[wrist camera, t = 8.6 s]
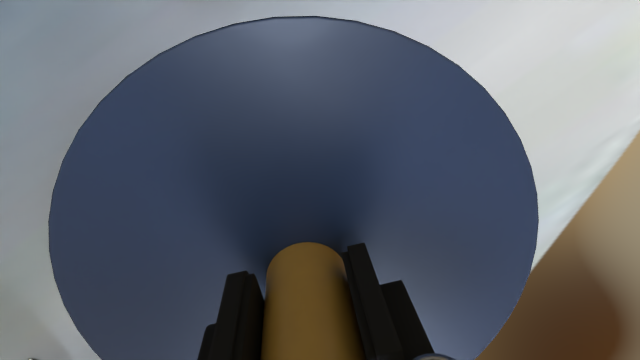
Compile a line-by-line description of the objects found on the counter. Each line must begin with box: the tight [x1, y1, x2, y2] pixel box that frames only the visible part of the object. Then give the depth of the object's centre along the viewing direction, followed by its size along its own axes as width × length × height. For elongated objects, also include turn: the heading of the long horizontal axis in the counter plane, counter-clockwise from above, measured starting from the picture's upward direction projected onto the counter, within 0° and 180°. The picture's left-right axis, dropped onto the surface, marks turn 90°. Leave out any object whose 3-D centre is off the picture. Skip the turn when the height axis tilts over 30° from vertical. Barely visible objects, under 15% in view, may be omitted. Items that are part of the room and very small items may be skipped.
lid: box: [48, 16, 539, 360], centre depth 10 cm, size 16×16×7 cm
